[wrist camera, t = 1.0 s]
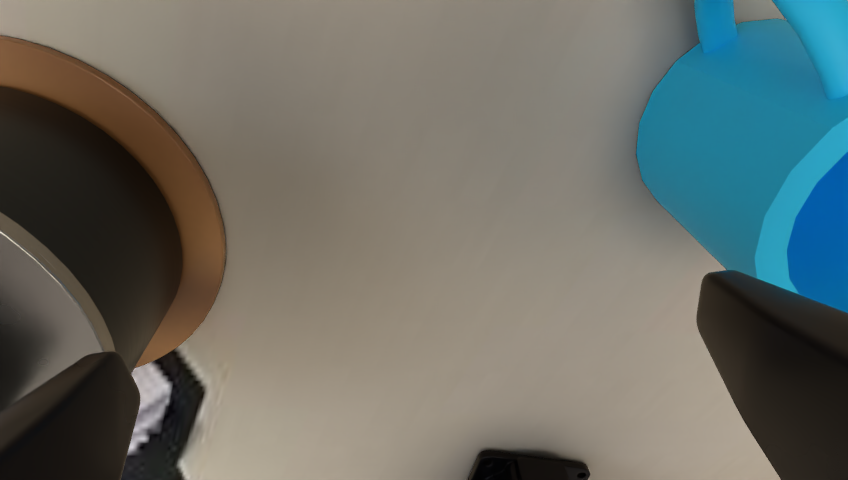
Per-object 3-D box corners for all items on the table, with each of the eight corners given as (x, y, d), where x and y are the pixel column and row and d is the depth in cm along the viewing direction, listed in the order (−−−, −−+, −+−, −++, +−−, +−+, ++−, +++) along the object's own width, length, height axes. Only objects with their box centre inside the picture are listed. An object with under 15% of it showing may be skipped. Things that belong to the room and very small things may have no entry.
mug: (861, 156, 23) (1078, 257, 16) (675, 251, 24) (793, 381, 17) (793, -143, 17) (1073, -198, 10) (562, 5, 19) (665, 46, 12)
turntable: (211, 391, 27) (209, 398, 26) (-139, 341, 24) (-149, 348, 24) (244, 91, 20) (240, 94, 20) (-240, -23, 17) (-256, -22, 17)
